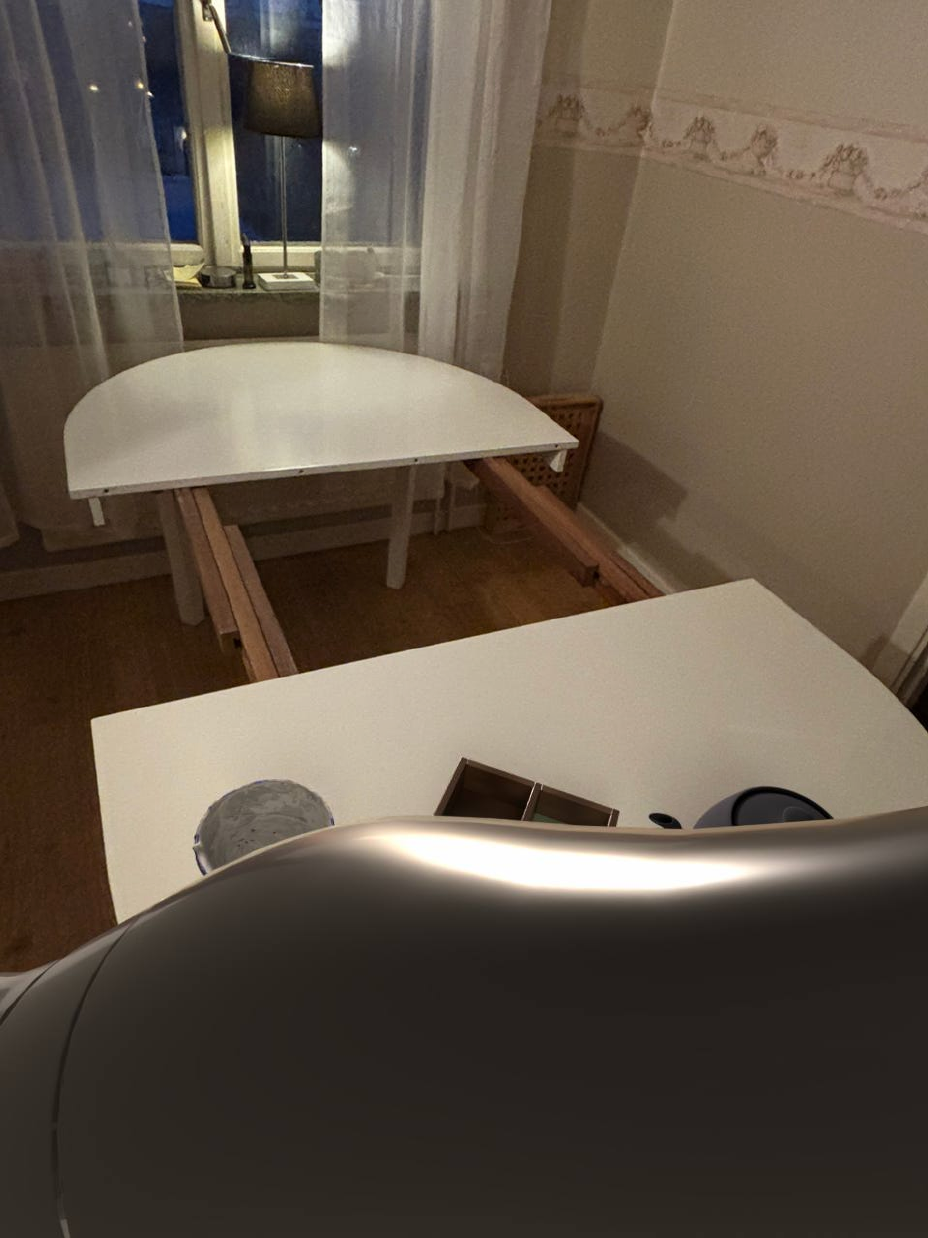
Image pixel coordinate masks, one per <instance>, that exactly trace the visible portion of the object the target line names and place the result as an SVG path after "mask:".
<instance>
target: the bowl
mask: <svg viewBox="0 0 928 1238" xmlns="http://www.w3.org/2000/svg"><path fill="white" fill-rule="evenodd" d="M333 825H336V824H335V820H334V816H333V813H332V811H331V809H330V806H329V805H328V804H327V802H326V801H325V800H324V799H323V797H322V796H321V795H320V794H319V793H317V792H316V791H315V790H313V789H312V788H310V787H308V786H307V785H306V784H304V783H301V782H298V781H293V780H290V779H285V778H283V779H282V778H272V779H270V778H269V779H263V780H255V781H253V782H250V783H246V784H243V785H241V786H239V787H237V788H235V789H232V790H230V791H229V792H227V793H226V794H224V795H223V796H221V797H219V798H218V799H215V800H214V801H213V802H211V803H210V805H209V806H208V808H207V810H206V811H205V812H204V814H203V816H202V818H201V820H200V821H199V823H198V825H197V829H196V832H195V834H194V837H193V839H194V845H193V846H192V848H191V849H192V850H193V852H194V857H195V862H196V865H197V868H198V870H199V871H200V873H201V875H202V877H203V876H204V875H206V874H208V873H210V872H212V871H213V870H215V869H217V868H219V867H221V866H223V865H226V864H228V863H230V862H232V861H234V860H236V859H238V858H240V857H242V856H244V855H246V854H249V853H251V852H253V851H255V850H258V849H261V848H264V847H266V846H269V845H272V844H274V843H277V842H280V841H283V840H285V839H288V838H291V837H294V836H298V835H301V834H304V833H307V832H310V831H314V830H317V829H321V828H325V827H329V826H333Z"/></svg>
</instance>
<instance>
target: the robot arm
mask: <svg viewBox="0 0 928 1238" xmlns="http://www.w3.org/2000/svg"><path fill="white" fill-rule="evenodd" d="M0 1238H928V805H924V806H918V807H911V808H906V809H900V810H893V811H892V810H891V811H886V812H885V811H884V812H879V813H871V814H864V815H858V816H852V817H844V818H834V819H829V820H815V821H801V822H787V823H772V824H758V825H744V826H730V827H715V828H701V829H693V828H690V829H688V828H687V829H685V828H682V829H664V828H662V827H661V828H658V827H657V828H656V827H635V826H634V827H633V826H632V827H629V826H616V827H606V826H579V825H567V824H554V823H542V822H530V821H517V820H505V819H493V818H473V817H452V816H433V815H425V814H424V815H422V814H413V815H412V814H411V815H394V816H393V815H392V816H379V817H372V818H365V819H359V820H351V821H346V822H342V823H337V824H335V825H333V826H329V827H325V828H321V829H317V830H314V831H310V832H307V833H304V834H301V835H298V836H294V837H291V838H288V839H285V840H283V841H280V842H277V843H274V844H272V845H269V846H266V847H264V848H261V849H258V850H255V851H253V852H251V853H249V854H246V855H244V856H242V857H240V858H238V859H236V860H234V861H232V862H230V863H228V864H226V865H223V866H221V867H219V868H217V869H215V870H213V871H212V872H210V873H208V874H206V875H204V876H203V875H202V876H201V877H199V878H197V879H196V880H194V881H192V882H190V883H189V884H187V885H185V886H183V887H181V888H179V889H177V890H175V891H173V892H172V893H171V894H169V895H168V896H166V897H164V898H162V899H160V900H159V901H156V902H155V903H153V904H152V905H150V906H148V907H146V908H145V909H143V910H141V911H139V912H138V913H136V914H134V915H132V916H131V917H129V918H126V920H124V921H122V922H120V923H118V924H117V925H115V926H113V927H112V928H110V929H108V930H106V931H105V932H103V933H101V934H99V935H98V936H96V937H94V938H92V939H91V940H89V941H87V942H85V943H84V944H82V945H80V946H79V947H77V948H75V949H74V950H73V951H70V952H69V953H67V954H65V955H63V956H61V957H59V958H57V959H55V960H53V961H50V962H48V963H46V964H43V965H40V966H37V967H36V968H35V967H34V968H33V969H29V970H26V971H16V972H14V971H11V972H10V971H9V972H7V971H6V972H5V971H4V972H2V971H1V972H0Z"/></svg>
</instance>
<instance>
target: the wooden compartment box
mask: <svg viewBox="0 0 928 1238" xmlns="http://www.w3.org/2000/svg"><path fill="white" fill-rule="evenodd" d="M620 813H621V811H620V810H619V809H615V808H613V807H609V806H607V805H604V804H600V803H598V802H595V801H592V800H589V799H587V798H584V797H580V796H577V795H575V794H572V793H570V792H566V791H563V790H560V789H557V788H555V787H551V786H548V785H546V784H542V783H539V782H535V781H534V780H531V779H528V778H525V777H523V776H519V775H517V774H514V773H511V772H508V771H505V770H502V769H499V768H496V767H493V766H491V765H488V764H484V763H482V762H479V761H476V760H473V759H470V758H467V757H464V756H461V757H460V759H459V760H458V763H457V765H456V767H455V769H454V771H453V773H452V776H451V777H450V780H449V782H448V784H447V786H446V787H445V790H444V792H443V794H442V796H441V799H440V800H439V803H438V804H437V807H436V809H435V811H434V812H433V815H432V816H452V817H473V818H493V819H505V820H517V821H530V822H542V823H554V824H567V825H579V826H606V827H617V824H618V820H619V816H620Z"/></svg>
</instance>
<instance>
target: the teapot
mask: <svg viewBox="0 0 928 1238" xmlns="http://www.w3.org/2000/svg"><path fill="white" fill-rule="evenodd" d="M648 819H649V820H650V822H652V823H654V824H655V825H658V826H659V827H661V828H662V829H683V826H682V824H681V822H680V821H679V819H677V818H675V817H674V816H673V815H670V814H666V813H662V812H651V813H649V814H648ZM829 819H835V818H834V817H833V816H832V814H830V813H829V812H828V811H827V810H826V809H825V808H824V807H823V806H821V805H820V804H818V803H817V802H816V801H814V800H812V799H811V798H810V797H809V798H808V797H807V796H806V795H803V794H802V793H799V792H796V791H794V790H791V789H787V788H785V787H784V788H783V787H778V786H772V785H759V786H751V787H749V788H744V789H743V790H741V791H737V792H736V793H733V794H732V795H731V794H730V795H729V796H728V797H725V798H724V799H721V800H720V801H718V802H717V803H715V804H714V805H712V806H711V807H710V808H709V809H707V811H705V812H704V813H703V814H702V815H701V816H700V818H699V819H698V820H697V821H696V823H695V824H694V826H693V828H692V829H701V828H715V827H730V826H744V825H758V824H772V823H787V822H801V821H815V820H829Z"/></svg>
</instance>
